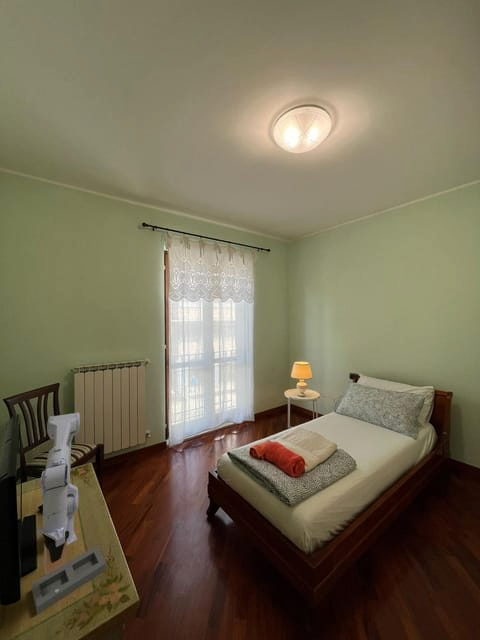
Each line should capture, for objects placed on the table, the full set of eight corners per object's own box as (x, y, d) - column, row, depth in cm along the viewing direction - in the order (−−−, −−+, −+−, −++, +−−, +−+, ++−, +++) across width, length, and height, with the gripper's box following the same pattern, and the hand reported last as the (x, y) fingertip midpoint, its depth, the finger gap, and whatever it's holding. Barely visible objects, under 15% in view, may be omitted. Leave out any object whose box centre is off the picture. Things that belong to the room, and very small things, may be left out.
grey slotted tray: (31, 592, 73) (31, 582, 73) (96, 553, 85) (96, 545, 85) (36, 616, 67) (37, 606, 67) (105, 571, 79) (105, 562, 79)
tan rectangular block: (43, 566, 73) (44, 542, 73) (63, 556, 76) (63, 532, 77) (46, 575, 70) (46, 550, 71) (66, 563, 74) (66, 539, 74)
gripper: (33, 503, 76) (33, 549, 76) (42, 530, 66) (41, 583, 66) (62, 492, 81) (61, 534, 81) (74, 515, 71) (73, 564, 71)
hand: (54, 555), depth 73 cm, fingers closed on tan rectangular block, 4 cm apart
